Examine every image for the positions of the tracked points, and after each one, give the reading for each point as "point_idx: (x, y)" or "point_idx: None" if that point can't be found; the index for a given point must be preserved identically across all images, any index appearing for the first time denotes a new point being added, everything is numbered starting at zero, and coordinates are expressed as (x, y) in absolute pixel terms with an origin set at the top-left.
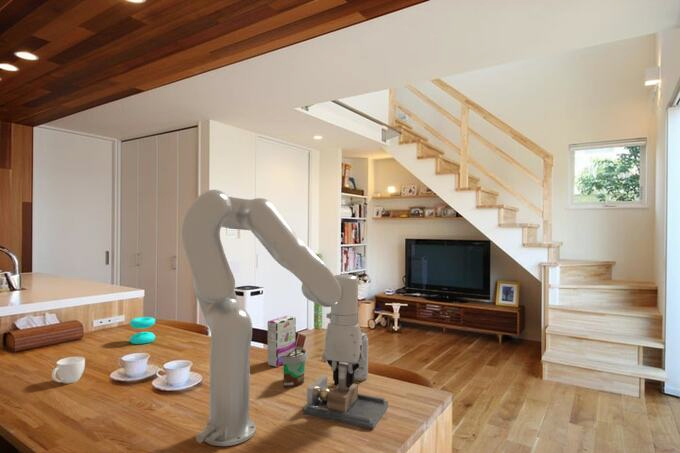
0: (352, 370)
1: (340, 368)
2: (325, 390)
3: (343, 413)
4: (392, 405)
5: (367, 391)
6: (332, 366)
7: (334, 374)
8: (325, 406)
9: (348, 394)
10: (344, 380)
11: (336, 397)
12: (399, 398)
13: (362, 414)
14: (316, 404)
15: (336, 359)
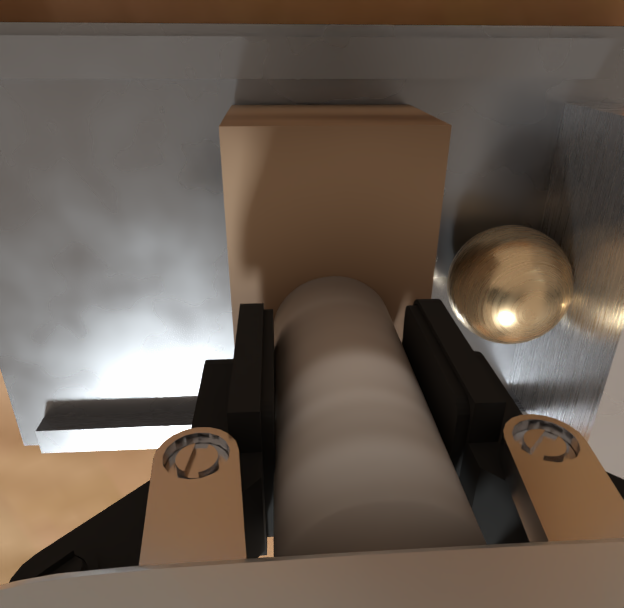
0: (151, 472)
1: (408, 460)
2: (520, 282)
3: (219, 43)
4: (25, 446)
5: (267, 541)
6: (584, 465)
7: (483, 371)
8: (452, 167)
9: (226, 234)
10: (310, 351)
11: (335, 121)
12: (38, 539)
13: (85, 162)
14: (541, 170)
15: (583, 577)
